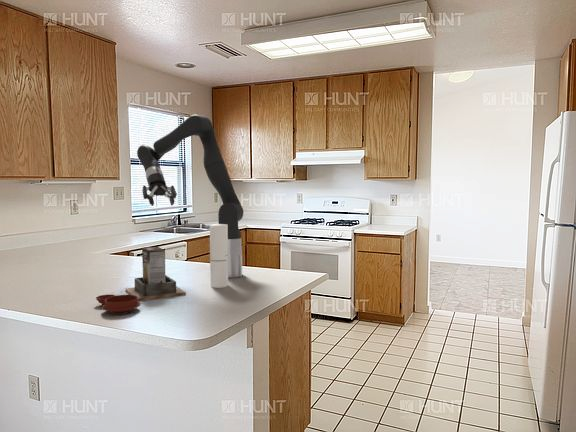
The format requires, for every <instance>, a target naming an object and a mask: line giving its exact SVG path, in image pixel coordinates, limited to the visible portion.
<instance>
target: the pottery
mask: <svg viewBox="0 0 576 432" xmlns="http://www.w3.org/2000/svg"><path fill="white" fill-rule="evenodd" d="M95 299H96V301H97V302H98V303H99V304H101V309H102V310H104V311H106V312H111V313H112V314H115V315H124V314H128V313H130V312H132V311H133V310H134V309H137V308H139V307H140V306H141V301H138V297H137V296H135V295H129V294H117V295H116V294H101V295H98V296H96V297H95Z"/></svg>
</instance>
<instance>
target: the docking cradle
mask: <svg viewBox="0 0 576 432" xmlns="http://www.w3.org/2000/svg"><path fill="white" fill-rule="evenodd" d="M125 292H126V293H127V295H135V296H137V297H138V302H143V301H152V300H157V299H165V298H172V297H178V296H186V295H187V293H186V292H187V291H185V290H183V289H181V287H178V286H177V281H176V280H174V279H173V278H171V277H170V276H168V275H166V274H165V283H157V284H149V285H145V284H144V283H143V276H141V277H136V278H134V287H128V288H125Z"/></svg>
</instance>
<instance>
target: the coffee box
mask: <svg viewBox="0 0 576 432" xmlns="http://www.w3.org/2000/svg"><path fill="white" fill-rule="evenodd" d="M141 253H142V255H141V257H142V277H143V283H144V284H145V285H149V284H157V283H165V275H166V249H164V248H162V247H160V246H148V247H147V246H146V247H142V248H141Z"/></svg>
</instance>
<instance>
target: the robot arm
mask: <svg viewBox="0 0 576 432" xmlns="http://www.w3.org/2000/svg"><path fill="white" fill-rule="evenodd" d="M193 136H195V137H197V136H198V137H199V139H200V142H201V144H202V148H203V167H204V170H205V172H206V175H207V178H208V180H209V182H210V183H211V185H212V186H213V187H214V189H215V190H216V192H217V193H218V194H219V196H220V199H221V202H222V204H221V205H220V207H219V208H218V215H217V218H218V219H217V220H218V224H227V225H228V279H229V278H231V279H232V278H241V277H242V276H243V254H242V231H241V230H240V229H239V222H240V221H241V220H242V219H243V217H244V207H243V206H242V204H241V201H240V200H239V197H238V196H237V193H236V192H235V189H234V187H233V182H232V181H231V178H230V177H231V176H230V175H229V172H228V169H227V166H226V164H225V161H224V158H223V156H222V152H221V149H220V147H219V145H218V141H217V138H216V134H215V130H214V126H213V124H212V121H211V119H210V118H209V117H207V116H205V115H200V114H192V115H190V116H188V117H187V118H186V119H185V120H184V121H182V123H180V124H179V125H178V126H177V127H176V128H175V129H173V130H172V131H171V132H169V133H167V134H165V135H164V136H162V137H160V138H159V139H157V140H155V141H154V143H153V145H152V147H151V146H150V145H147V144H141V145H140V146H139V147H138V148H137V151H136V152H137V158H138V160H139V162H140V163H141V165H142V166H143V168H144V172H145V178H146V182H147V186H146V185H143V186H142V189H141V191H142V196H143V200H146V199H147V200H148V203H149V204H150V205H151V207H153V206H155V202H154V197H155V196H157V197H159V196H160V197H161V196H162V197H163V196H164V197H165V198H167V199H169V202H170V206H174V205H175V199H176V197H177V194H178V193H177V192H176V188H175V186H174V185H171V186H167V183H166V180H165V177H164V173H163V171H162V169H161V166H160V163H159V161H160V159H161V160H162V157H164V156H165V155H166V154H167V153H169V152H171V151H172V150H174V149H176V148H177V147H178V145H179V144H180V143H181V142H183V140H185V139H186V138H189V137H193ZM148 191H149V194H148Z"/></svg>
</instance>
